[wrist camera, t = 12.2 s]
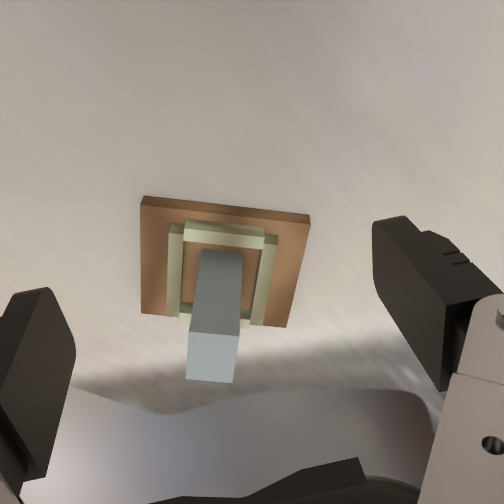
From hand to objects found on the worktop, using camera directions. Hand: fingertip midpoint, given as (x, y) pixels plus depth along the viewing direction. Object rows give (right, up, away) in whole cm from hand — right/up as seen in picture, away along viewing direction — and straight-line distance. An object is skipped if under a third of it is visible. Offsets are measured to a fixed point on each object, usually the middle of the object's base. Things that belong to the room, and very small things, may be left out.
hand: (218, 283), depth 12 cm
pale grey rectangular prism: (-2, -1, +31) cm, 31 cm away
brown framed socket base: (-2, 0, +32) cm, 32 cm away
